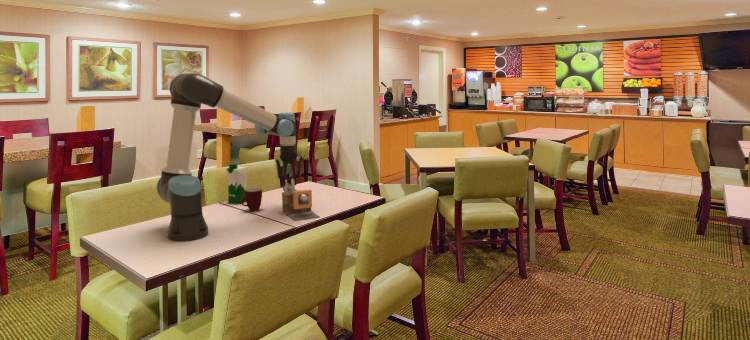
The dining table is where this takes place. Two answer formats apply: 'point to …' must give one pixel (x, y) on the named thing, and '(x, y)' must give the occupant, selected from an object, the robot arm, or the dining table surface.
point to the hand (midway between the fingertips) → (289, 192)
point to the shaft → (301, 197)
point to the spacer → (300, 192)
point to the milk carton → (236, 183)
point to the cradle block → (291, 204)
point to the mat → (303, 215)
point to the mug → (252, 198)
